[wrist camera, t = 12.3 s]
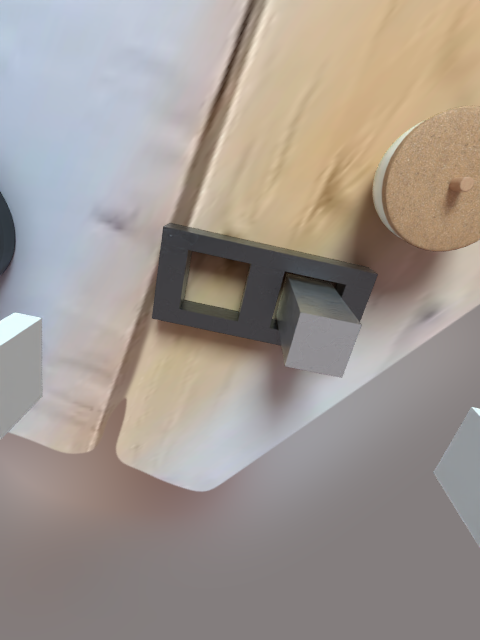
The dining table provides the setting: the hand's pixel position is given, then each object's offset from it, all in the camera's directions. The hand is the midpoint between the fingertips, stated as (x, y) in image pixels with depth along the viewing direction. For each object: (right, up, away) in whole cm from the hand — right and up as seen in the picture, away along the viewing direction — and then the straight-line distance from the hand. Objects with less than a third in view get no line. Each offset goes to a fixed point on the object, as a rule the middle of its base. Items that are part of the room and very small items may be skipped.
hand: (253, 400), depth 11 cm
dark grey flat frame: (+2, +6, +28) cm, 29 cm away
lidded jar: (+17, +16, +24) cm, 33 cm away
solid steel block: (+7, +5, +29) cm, 30 cm away
